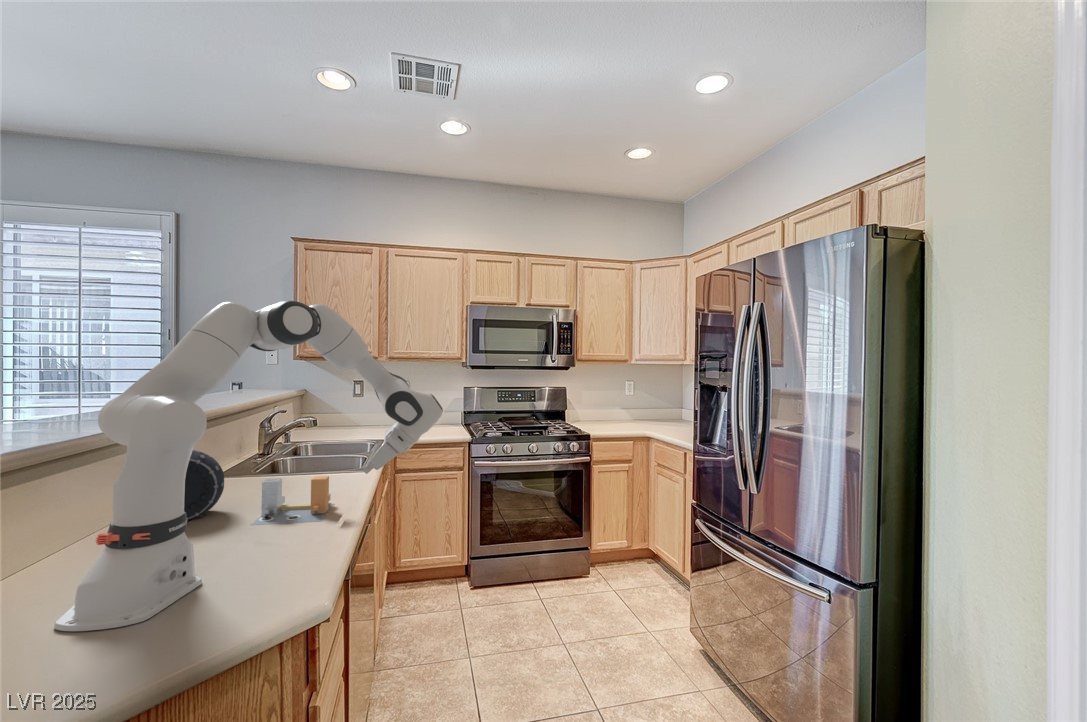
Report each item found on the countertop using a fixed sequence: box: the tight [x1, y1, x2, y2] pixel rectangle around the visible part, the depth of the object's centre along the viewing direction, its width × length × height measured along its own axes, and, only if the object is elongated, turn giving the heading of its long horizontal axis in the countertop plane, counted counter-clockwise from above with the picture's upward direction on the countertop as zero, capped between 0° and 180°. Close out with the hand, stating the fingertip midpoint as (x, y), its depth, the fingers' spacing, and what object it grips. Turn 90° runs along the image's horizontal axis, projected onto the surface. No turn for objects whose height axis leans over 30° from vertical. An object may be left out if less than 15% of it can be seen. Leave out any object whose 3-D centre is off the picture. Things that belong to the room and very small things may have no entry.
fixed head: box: [260, 477, 286, 518], centre depth 139 cm, size 12×4×10 cm, turn 12°
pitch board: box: [250, 502, 335, 526], centre depth 139 cm, size 17×18×2 cm
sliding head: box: [310, 475, 331, 515], centre depth 142 cm, size 12×4×10 cm, turn 12°
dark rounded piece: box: [184, 449, 225, 522], centre depth 135 cm, size 11×20×20 cm, turn 119°
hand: (365, 471), depth 143 cm, fingers closed
